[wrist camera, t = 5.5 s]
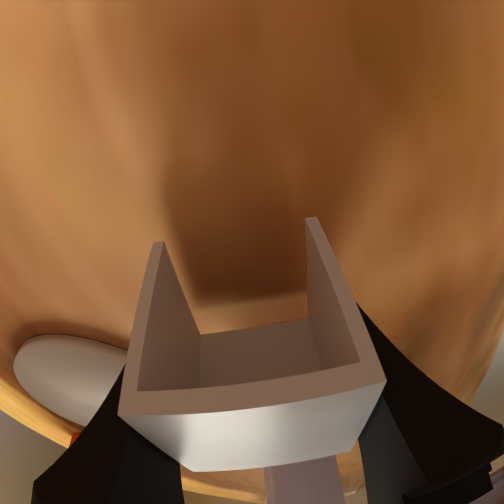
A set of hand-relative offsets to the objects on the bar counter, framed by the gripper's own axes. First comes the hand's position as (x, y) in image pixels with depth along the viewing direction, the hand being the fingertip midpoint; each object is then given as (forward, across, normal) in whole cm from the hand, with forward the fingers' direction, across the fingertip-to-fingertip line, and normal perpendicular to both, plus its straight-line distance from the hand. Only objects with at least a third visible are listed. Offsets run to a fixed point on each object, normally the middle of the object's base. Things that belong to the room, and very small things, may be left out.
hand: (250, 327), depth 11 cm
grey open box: (+2, 0, 0) cm, 2 cm away
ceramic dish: (+3, +12, +9) cm, 15 cm away
